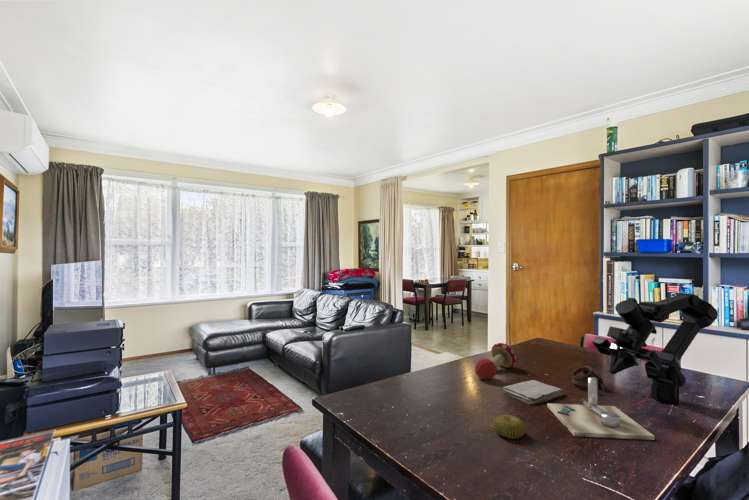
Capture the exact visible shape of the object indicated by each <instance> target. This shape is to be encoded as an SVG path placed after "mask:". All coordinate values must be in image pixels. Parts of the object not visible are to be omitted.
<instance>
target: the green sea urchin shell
mask: <svg viewBox="0 0 749 500" xmlns="http://www.w3.org/2000/svg"><path fill="white" fill-rule="evenodd" d="M493 428H494V430H495V431H496V433H497V434H498V435H500V436H501V437H504V438H507V439H512V440H513V439H514V440H516V439H520V438H522V437H523V436H524V435H525V433H526V428H527V427H526V424H525V422H524V421H523V420H522V419H521V418H519V417H518V416H515V415H512V414H500V415H498V416H496V417H495V419H494V421H493Z"/></svg>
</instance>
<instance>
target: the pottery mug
mask: <svg viewBox="0 0 749 500" xmlns="http://www.w3.org/2000/svg"><path fill="white" fill-rule="evenodd" d="M581 372H582V373H583V375H581V376H577V375H578V374H579V373H581ZM571 377H572V384H573V386H575V385H584V384H587V385H588V377H594V378H597V387H601V388H602V389H601V390H602V392H604V391H606V388H605V383H604V380H603V378H602V376H601V375H600V374H599V373H598V372H597V371H596V370H595V369H593V368H592V367H591V366H588V365H587V366H585V365H584V366H580V367H578V368H576V369H574V370H573V372H572V375H571Z"/></svg>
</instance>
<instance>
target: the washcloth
mask: <svg viewBox="0 0 749 500" xmlns="http://www.w3.org/2000/svg"><path fill="white" fill-rule="evenodd" d="M502 389H503V391H502V394H505V395H506V396H508V397H511V398H513V399H515V400H517V401H520V403H521V402H522V403H525V404H526V405H535V404H540V403H543V402H547V401H549V400H552V399H555V398H559V397H562V396H563V395H564V393H565V390H563V389H562V388H561V387H560V388H559V387H556V386H554V385H549V384H546V383H544V382H541V381H538V380H536V379H531V380H527V381H521V382H518V383H514V384H510V385H506V386H503V388H502Z"/></svg>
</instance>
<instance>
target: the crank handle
mask: <svg viewBox="0 0 749 500" xmlns="http://www.w3.org/2000/svg"><path fill="white" fill-rule="evenodd" d="M583 405H587V406H588V407H589V408H591V409H592V410H594V411H595V412H596V413H598V414H599V415H601V423H602V424H604V425H606V426H609V427H614V428H617V427H620V416H619V415H617V414H615V413H612V412H607V411H604V410H603V409H601V408H600V407H598V406H599V405H598V386H597V378H594V377H588V384H587V398H584V399H583Z"/></svg>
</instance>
